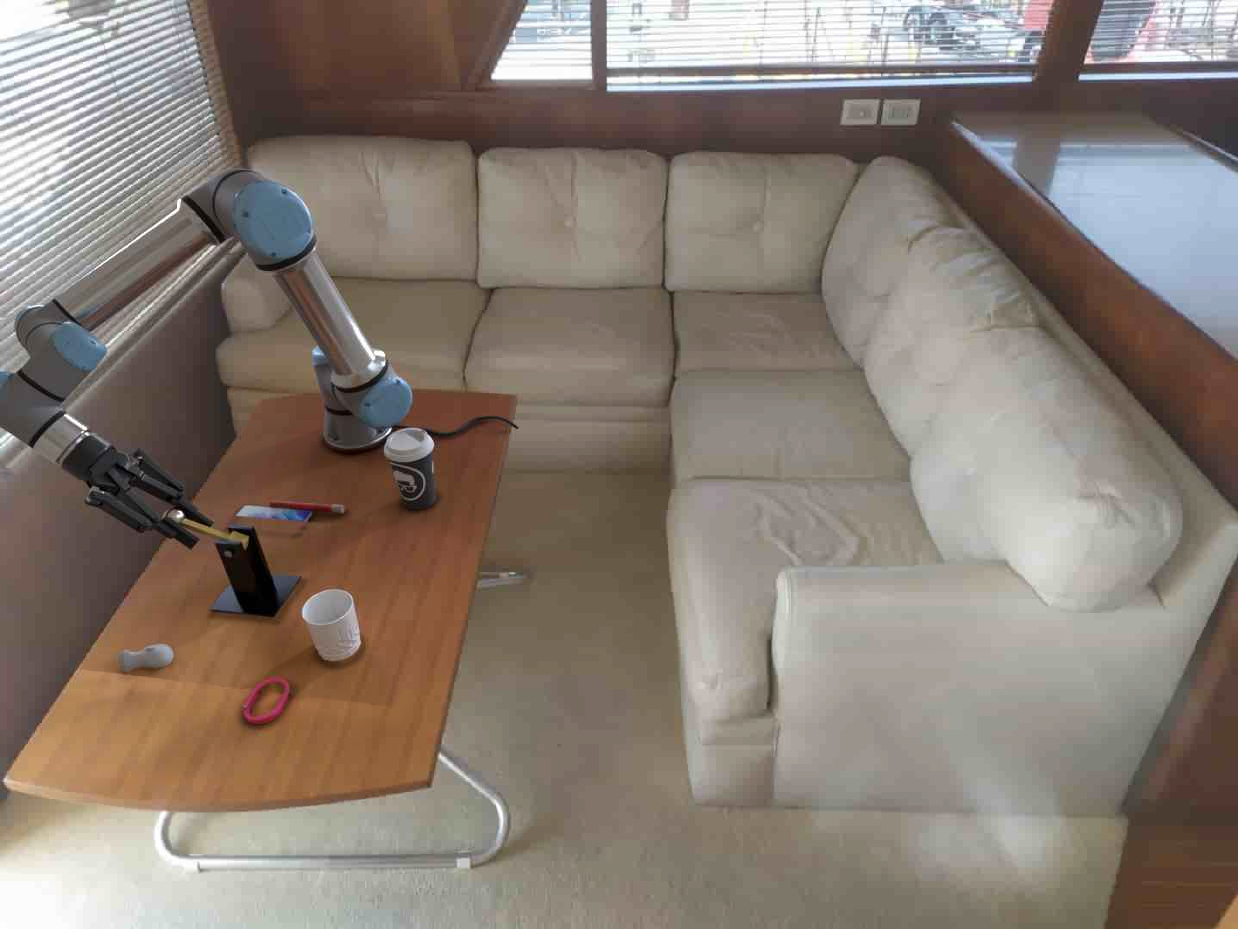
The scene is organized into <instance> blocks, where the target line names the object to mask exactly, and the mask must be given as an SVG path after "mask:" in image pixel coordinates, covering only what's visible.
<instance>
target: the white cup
mask: <svg viewBox="0 0 1238 929" xmlns="http://www.w3.org/2000/svg"><path fill="white" fill-rule="evenodd" d="M301 617H302V620H303V622H304V624H305V626H306V629H307V632H308V634H309V636H310V639H311V641H312V644H313V645H314V648H315V649H316V651H317V654H318V655H319V656H320V657H321V658H322V659H323V660H324V661H329V662H340V661H343V660H346V659H348V658H350V657H352V656H353V655H354V654H355V653H356V652H357V651H358V650H359V648H360V646H361V644H362V640H361V634H360V633H361V632H360V628H359V627H360V624H359V621H358V616H357V612H356V608H355V603H354V599H353V597H352V595H351V593H349V592H348V591H345V590H343V589H333V588H332V589H326V590H323V591H320V592H318V593H316V594H314V595H312V596H311V597H310V598H308V599H307V600H306V602H305V603H304V604H303V606H302V608H301Z"/></svg>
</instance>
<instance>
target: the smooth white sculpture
mask: <svg viewBox="0 0 1238 929" xmlns="http://www.w3.org/2000/svg"><path fill="white" fill-rule="evenodd" d="M174 656H175V654H174V651H173V649H172V648H171V646H170V645H168V644H166V643H157V644H150V645H148V646H145V647H143V648H142V649H140V650H139V651H130V650H129V649H126V648H125V649H123V650H122V651H120V652H119V653H118V662H119V667H120V670H121V672H123V673H127V674H129V673H131V672H132V671H135V670H138V669H147V668H148V669H154V670H155V669H156V670H157V669H163V668H166V667H168V666H169V665H170V664H171V663H172V661H173V659H174Z"/></svg>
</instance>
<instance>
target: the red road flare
mask: <svg viewBox="0 0 1238 929" xmlns="http://www.w3.org/2000/svg"><path fill="white" fill-rule="evenodd" d="M269 507H271V508H285V509H300V510H311V511H312V512H317V513H318V512H319V513H332V514H344V512H345V505H344V504H335V503H334V504H330V503H315V502H302V501H301V502H300V501H285V500H273V499H272V500H270V501H269Z"/></svg>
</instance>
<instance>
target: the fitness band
mask: <svg viewBox="0 0 1238 929" xmlns="http://www.w3.org/2000/svg"><path fill="white" fill-rule="evenodd" d="M274 682H275V683H276V682H278V683H281V684H283V686H284V692H283V694H282V696H281V697H280V699H279V700H278V702H277V703H276V705H275V707H274V708H273V709H272V710H271V711H270V712H268V713H266V714H264V715H261V716H252V715H251V714H250V713H251V709H252V707H253V706H254V704H255V702H256V701H257V700H258V699H259V697H260V695H261V694H262V692H263V691H262V690H261V688H263V687H264V686H266V685H267V684H269V683H274ZM289 692H290V684H289V682H288V681H287V680H286V679H284V678H282V677H271V678H267V679H265V680H263V681H261V682H260V683H258V684H257V685H256V686H255V687H254V688H253V689H252V691H251V692H250V693H249V695H248V696H247V698H246V699H245V701H244V703H243V704H242V709H243V715H244V718H245V720H246V721H247V722H248V723H250V724H253V725H263V724H266V723H269V722H271V721H273V720H275V719H276V718H277V717H279V715H280V714H281V713H282V711H283V710H284V708H285V707H286V705H287V703H288V702H289V700H290V697H291V696H292V693H289Z"/></svg>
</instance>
